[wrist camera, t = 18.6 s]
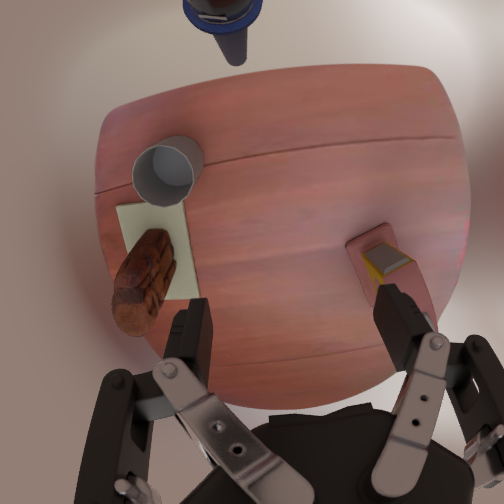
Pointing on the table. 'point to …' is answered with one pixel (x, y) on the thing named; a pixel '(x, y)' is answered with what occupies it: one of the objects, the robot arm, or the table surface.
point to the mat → (174, 221)
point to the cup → (168, 171)
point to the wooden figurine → (143, 282)
